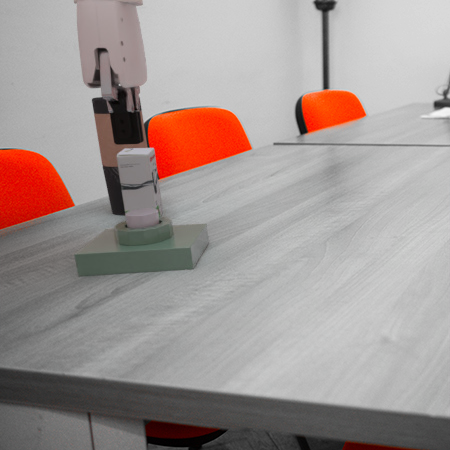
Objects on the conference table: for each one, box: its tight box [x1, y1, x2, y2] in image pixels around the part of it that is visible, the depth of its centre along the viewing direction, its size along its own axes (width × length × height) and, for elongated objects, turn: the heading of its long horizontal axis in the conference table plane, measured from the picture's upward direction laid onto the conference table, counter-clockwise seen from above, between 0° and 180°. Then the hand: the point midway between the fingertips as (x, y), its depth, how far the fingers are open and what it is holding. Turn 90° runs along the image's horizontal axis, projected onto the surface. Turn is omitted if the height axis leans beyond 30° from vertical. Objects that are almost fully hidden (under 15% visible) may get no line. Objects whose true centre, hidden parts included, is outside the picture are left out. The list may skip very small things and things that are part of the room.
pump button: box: [124, 208, 160, 229], centre depth 76 cm, size 4×4×2 cm
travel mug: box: [91, 96, 149, 216], centre depth 101 cm, size 8×8×20 cm
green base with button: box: [73, 216, 210, 277], centre depth 77 cm, size 14×11×5 cm
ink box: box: [117, 147, 164, 217], centre depth 95 cm, size 9×5×12 cm, turn 16°
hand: (129, 143), depth 74 cm, fingers closed
